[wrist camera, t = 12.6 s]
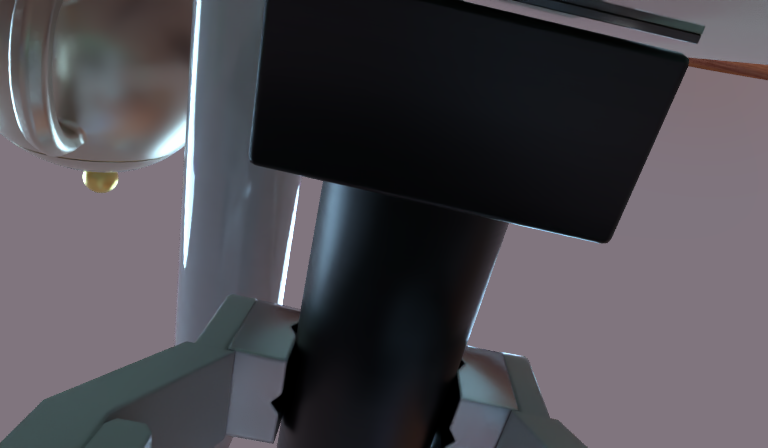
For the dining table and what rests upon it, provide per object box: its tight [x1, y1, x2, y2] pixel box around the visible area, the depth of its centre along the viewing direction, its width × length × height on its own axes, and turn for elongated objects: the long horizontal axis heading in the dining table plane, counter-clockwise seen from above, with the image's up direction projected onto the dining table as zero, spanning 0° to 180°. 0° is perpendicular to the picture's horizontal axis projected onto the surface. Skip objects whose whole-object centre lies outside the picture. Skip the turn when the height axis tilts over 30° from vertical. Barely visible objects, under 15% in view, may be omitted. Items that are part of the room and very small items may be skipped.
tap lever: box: [249, 0, 689, 448], centre depth 9 cm, size 4×4×13 cm
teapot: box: [0, 0, 193, 193], centre depth 27 cm, size 18×14×16 cm
